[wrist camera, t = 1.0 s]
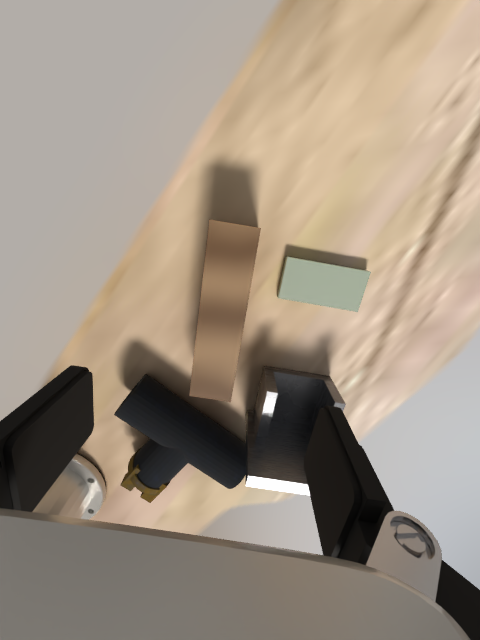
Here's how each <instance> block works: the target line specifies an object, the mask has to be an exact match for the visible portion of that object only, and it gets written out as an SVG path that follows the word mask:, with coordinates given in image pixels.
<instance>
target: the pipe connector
mask: <svg viewBox="0 0 480 640" xmlns="http://www.w3.org/2000/svg"><path fill="white" fill-rule="evenodd" d="M114 415H115V416H117V417H118V418H120V419H122V420H123V421H125V422H126V423H128V424H129V425H131V426H132V427H134V428H135V429H137V430H139V431H140V432H142V433H143V434H145V435H146V436H148V437H149V438H150V439H149V440H148V441H147V443H146V444H145V445H144V446H143V447H142V448H140V449H139V450H138V451H137V452H136V453H135V454H134V455H133V456H132V457H131V459H130V461H129V465H128V473H127V474H126V475H125V477H124V479H123V481H122V483H121V486H123V487H124V488H126V489H128V490H129V491H131V490H132V489H133V488H134V487H136V488H137V489H138V490H139V491H141V492H142V494H141V498H143V499H145V500H146V501H148V502H150V503H151V502H152V501H153V500H154V499H155V498H156V497H157V496H158V495H159V494H160V493H161V492H162V491H163V490H164V489H165V488H166V487H167V485H168V484H169V483H170V481H171V479H172V478H173V477H174V476H175V475H176V474H177V473H178V472H179V471H180V470H181V469H182V468H183V467H184V466H185V465H186V464H187V463H189V464H191V465H193V466H194V467H196V468H197V469H199V470H200V471H202V472H203V473H205V474H206V475H208V476H210V477H211V478H213V479H214V480H216V481H217V482H219V483H220V484H222V485H223V486H225V487H226V488H229V489H232V488H234V487H236V486H237V485H238V484H239V483H240V482H241V481H242V479H243V478H244V476H245V475H246V444H245V443H244V442H243V441H241V440H240V439H238V438H237V437H235V436H234V435H233V434H231V433H230V432H228V431H227V430H225V429H224V428H223V427H221V426H220V425H218V424H217V423H215V422H214V421H213V420H211V419H210V418H208V417H207V416H205V415H204V414H203V413H201V412H200V411H198V410H197V409H195V408H194V407H192V406H191V405H190V404H188V403H187V402H185V401H184V400H182V399H181V398H180V397H178V396H177V395H175V394H174V393H172V392H171V391H170V390H168V389H167V388H165V387H164V386H162V385H161V384H160V383H158V382H157V381H155V380H154V379H152V378H151V377H150V376H148V375H147V374H145V375H144V376H143V378H142V379H141V380H140V381H139V382H138V384H137V385H136V386H135V387H134V388H133V390H132V391H131V392H130V393H129V395H128V396H127V397H126V399H125V400H124V401H123V403H122V404H121V405H120V407H119V408H118V409H117V411H116V412H115V414H114Z"/></svg>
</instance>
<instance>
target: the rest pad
mask: <svg viewBox="0 0 480 640" xmlns="http://www.w3.org/2000/svg"><path fill="white" fill-rule="evenodd" d="M370 273H371V272H370V271H367V270H362V269H356V268H350V267H345V266H339V265H334V264H328V263H323V262H317V261H312V260H306V259H300V258H295V257H289V256H286V258H285V263H284V267H283V272H282V276H281V281H280V285H279V290H278V294H277V297H278V298H280V299H286V300H292V301H297V302H303V303H309V304H315V305H320V306H326V307H332V308H338V309H343V310H349V311H355V312H358V310H359V307H360V303H361V300H362V297H363V294H364V291H365V288H366V285H367V282H368V279H369V276H370Z"/></svg>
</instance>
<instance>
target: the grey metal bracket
mask: <svg viewBox="0 0 480 640" xmlns="http://www.w3.org/2000/svg"><path fill="white" fill-rule="evenodd" d="M326 405H327V406H334V407H339V408H341V409H342V411H343V410H344V407H345V402H344V400H343V399H342V397H341V395H340V393H339V392H338V390H337V388H336V386H335V385H334V383H333V381H332V379H331V378H330V377H329V376H323V375H317V374H311V373H305V372H299V371H293V370H287V369H281V368H275V367H269V366H264V368H263V372H262V376H261V381H260V385H259V390H258V394H257V399H256V403H255V408H254V411H253V410H247V414H246V486H249V487H256V488H262V489H269V490H276V491H283V492H289V493H296V494H303V495H310V492H309V488H308V483H307V478H306V474H305V469H304V457H305V454H306V451H307V448H308V444H309V441H310V438H311V435H312V432H313V428H314V425H315V422H316V419H317V416H318V412H319V410H320V408H323V409H324V407H325V406H326Z"/></svg>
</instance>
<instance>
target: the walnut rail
mask: <svg viewBox="0 0 480 640" xmlns="http://www.w3.org/2000/svg"><path fill="white" fill-rule="evenodd" d="M260 230H261V228H258V227H252V226H246V225H240V224H234V223H228V222H222V221H216V220H209V228H208V237H207V246H206V254H205V263H204V272H203V280H202V289H201V298H200V307H199V315H198V324H197V333H196V341H195V350H194V359H193V367H192V376H191V385H190V393H189V396H194V397H200V398H207V399H214V400H221V401H228V402H231V397H232V391H233V385H234V380H235V374H236V368H237V362H238V357H239V351H240V345H241V339H242V334H243V328H244V322H245V316H246V311H247V305H248V299H249V293H250V287H251V282H252V276H253V270H254V264H255V259H256V253H257V247H258V241H259V236H260Z"/></svg>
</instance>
